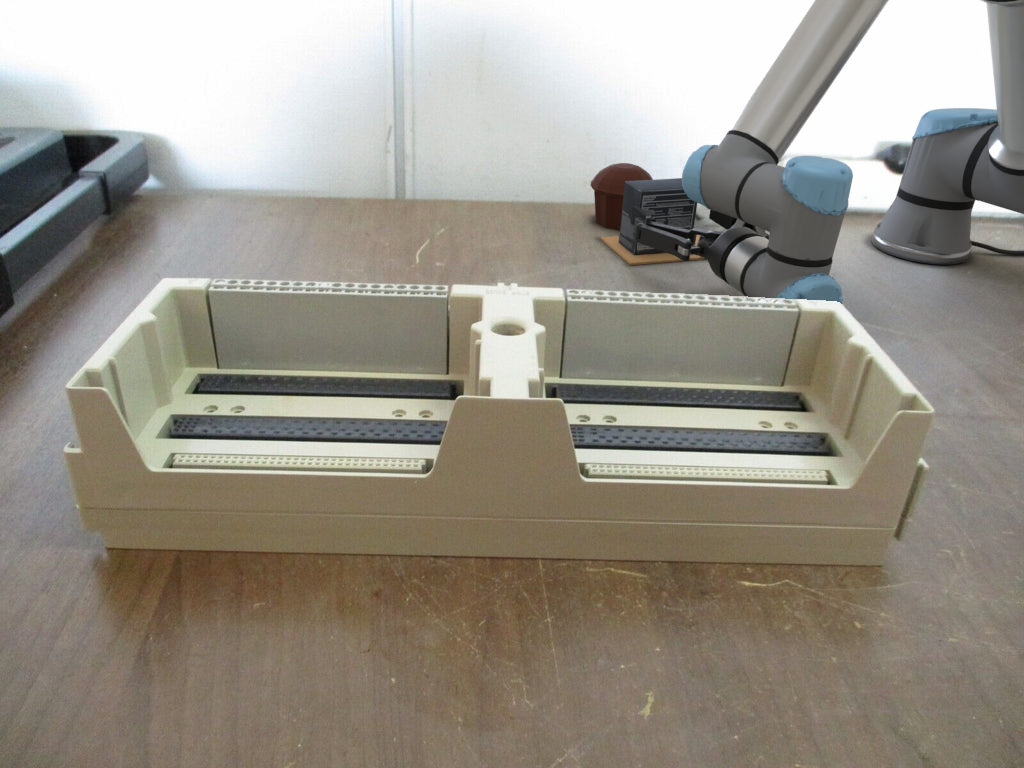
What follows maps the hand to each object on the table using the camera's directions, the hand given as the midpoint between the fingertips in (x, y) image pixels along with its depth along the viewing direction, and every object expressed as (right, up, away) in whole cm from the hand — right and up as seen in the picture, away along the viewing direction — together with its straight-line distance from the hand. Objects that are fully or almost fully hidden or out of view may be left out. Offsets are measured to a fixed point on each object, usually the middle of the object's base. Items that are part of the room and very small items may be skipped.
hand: (673, 212), depth 119 cm
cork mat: (+1, -4, +8) cm, 9 cm away
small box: (-2, -4, +7) cm, 9 cm away
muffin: (-6, +2, +19) cm, 20 cm away
